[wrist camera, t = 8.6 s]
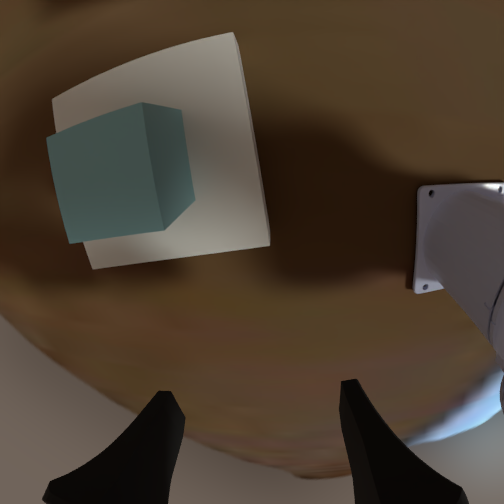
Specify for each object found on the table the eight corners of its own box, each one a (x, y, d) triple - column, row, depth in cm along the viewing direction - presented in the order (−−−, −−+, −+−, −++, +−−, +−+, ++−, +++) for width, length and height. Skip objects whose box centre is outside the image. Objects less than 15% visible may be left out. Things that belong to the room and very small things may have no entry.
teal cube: (181, 109, 13) (141, 102, 9) (195, 200, 15) (164, 230, 11) (102, 131, 14) (46, 137, 9) (117, 212, 16) (69, 243, 11)
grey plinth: (239, 47, 14) (233, 32, 12) (270, 228, 19) (269, 245, 16) (77, 100, 16) (51, 99, 13) (112, 252, 20) (92, 269, 18)
